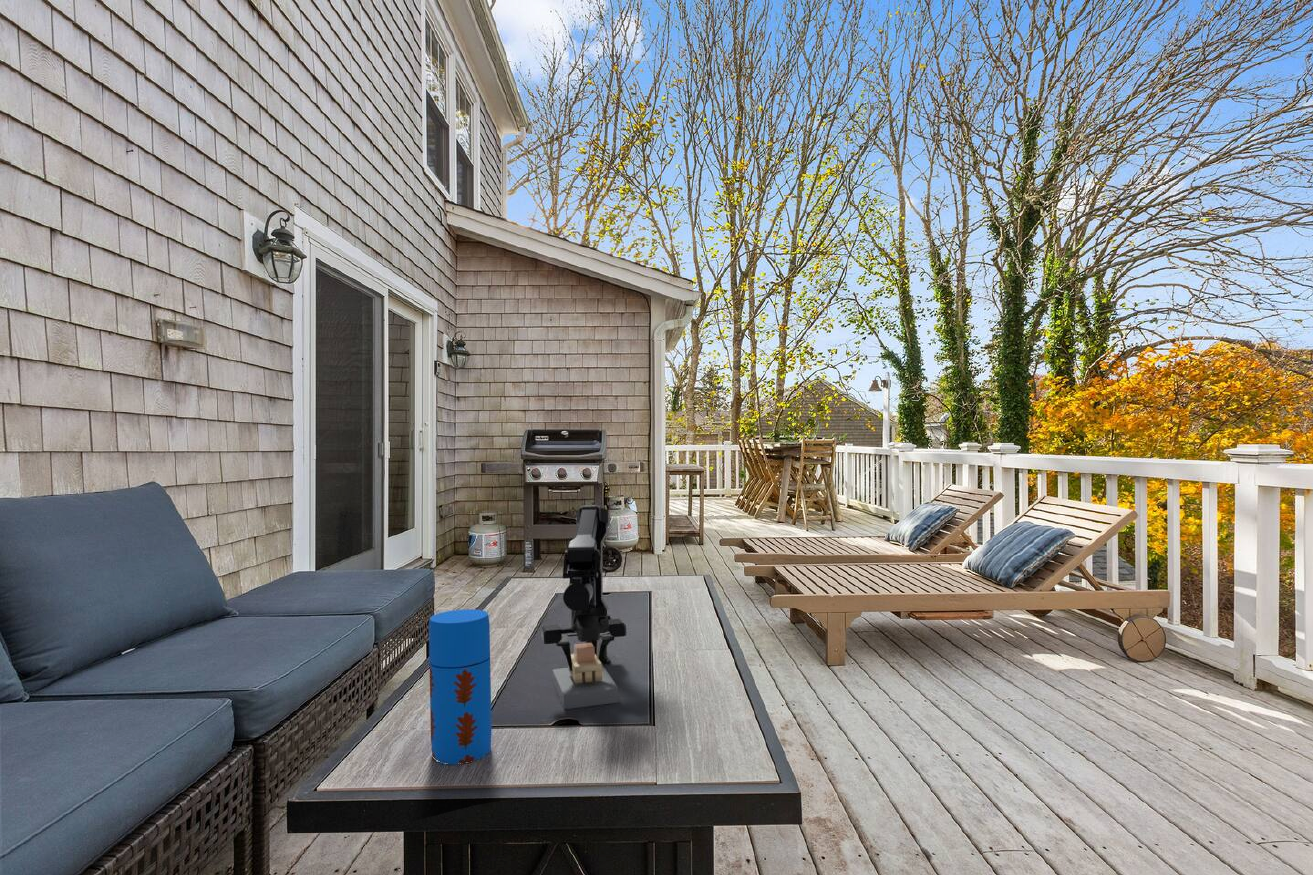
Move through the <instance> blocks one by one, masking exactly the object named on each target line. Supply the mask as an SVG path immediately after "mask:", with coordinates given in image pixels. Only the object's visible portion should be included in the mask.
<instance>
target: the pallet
mask: <svg viewBox="0 0 1313 875" xmlns="http://www.w3.org/2000/svg"><path fill="white" fill-rule="evenodd" d="M571 659H572V671H570V669H569V666H568V665H567V666H568V667H567V668H568V670H569V672H570V674H571V676H572V678H573V680H574V682H575V683H582V677H583V678H584V680H585V682H591V681H592V676H593V677H594V679H595V681H599V680H602V665H603V664H601V662H600V661H599V659H598V658H597V656H596V655H595V661H588V662H579V663H577V661H576V660H575V658H574V653H571Z"/></svg>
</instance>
